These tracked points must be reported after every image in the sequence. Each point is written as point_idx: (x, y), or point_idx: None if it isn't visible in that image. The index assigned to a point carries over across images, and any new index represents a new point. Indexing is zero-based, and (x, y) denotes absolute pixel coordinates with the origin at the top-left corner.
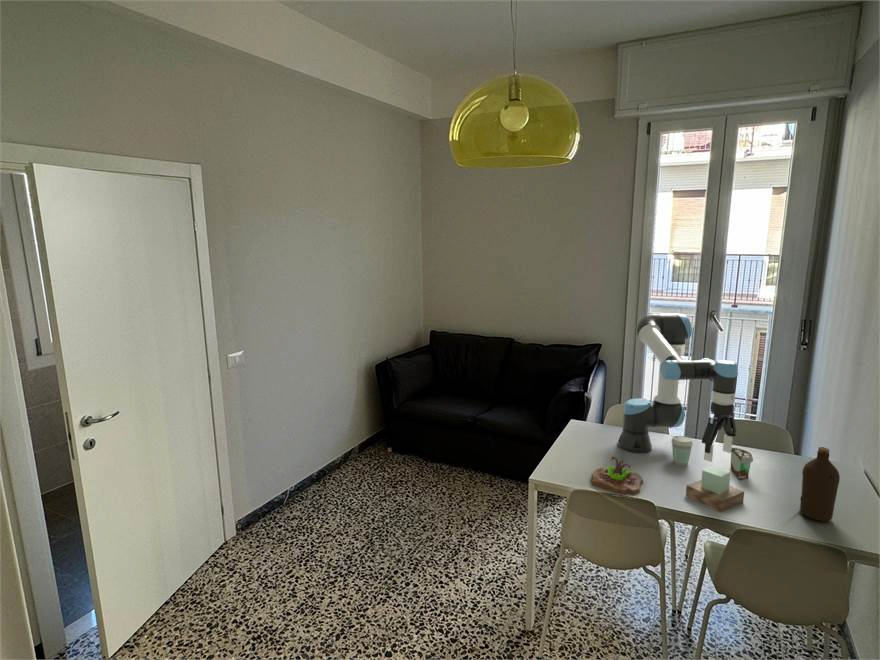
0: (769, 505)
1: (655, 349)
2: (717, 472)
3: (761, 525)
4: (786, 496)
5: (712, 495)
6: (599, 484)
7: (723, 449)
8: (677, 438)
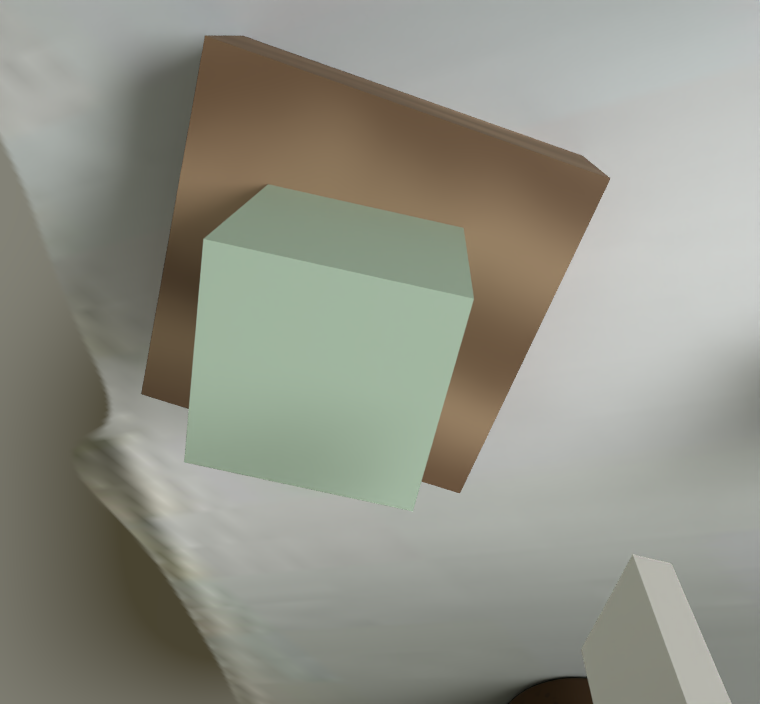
0: (531, 557)
1: None
2: (279, 407)
3: (210, 553)
4: (754, 615)
5: (178, 315)
6: None
7: (639, 585)
8: None
